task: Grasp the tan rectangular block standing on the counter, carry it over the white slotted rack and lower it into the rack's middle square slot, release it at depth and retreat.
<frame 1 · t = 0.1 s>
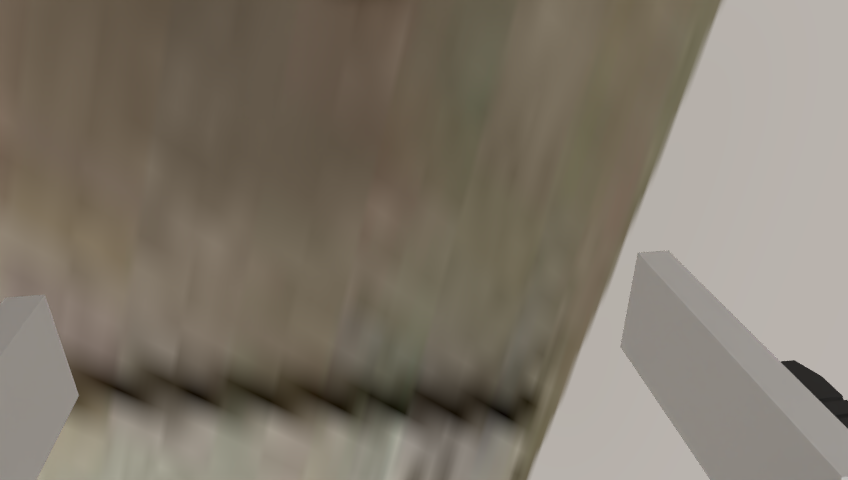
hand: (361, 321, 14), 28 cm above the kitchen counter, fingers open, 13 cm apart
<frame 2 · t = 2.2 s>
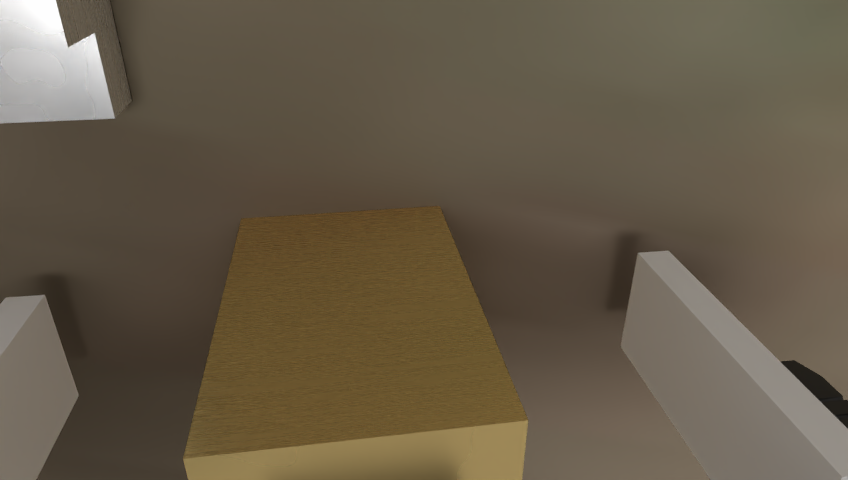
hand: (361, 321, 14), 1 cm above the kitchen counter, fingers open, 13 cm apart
tan rectangular block: (348, 294, 15), on the kitchen counter
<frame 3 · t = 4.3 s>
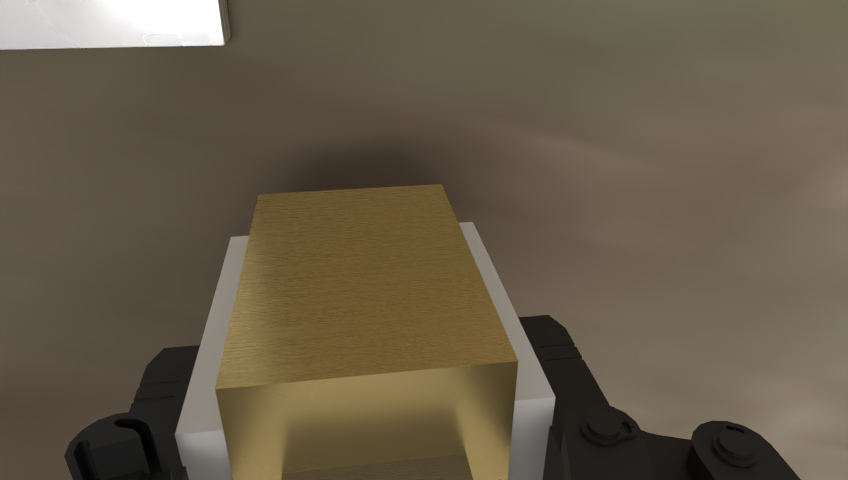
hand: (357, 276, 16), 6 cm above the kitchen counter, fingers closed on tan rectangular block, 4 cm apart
tan rectangular block: (356, 267, 16), point 5 cm above the kitchen counter, touching gripper
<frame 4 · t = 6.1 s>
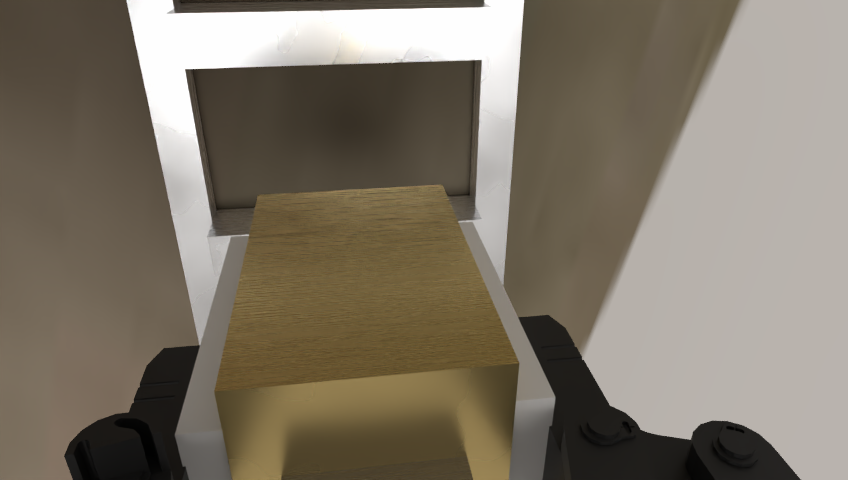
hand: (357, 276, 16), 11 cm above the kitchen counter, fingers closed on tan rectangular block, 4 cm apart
white slotted rack: (341, 130, 26), on the kitchen counter
tan rectangular block: (356, 268, 16), point 11 cm above the kitchen counter, touching gripper
when the fingers open (1 cm above the kitchen counter, at t = 7.8 s): tan rectangular block stays where it is, resting in white slotted rack.
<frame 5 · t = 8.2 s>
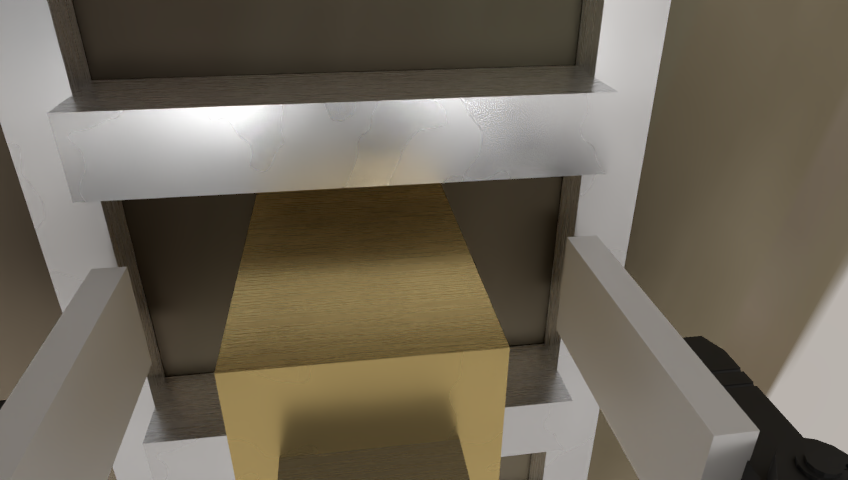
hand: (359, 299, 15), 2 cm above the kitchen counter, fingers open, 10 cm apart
white slotted rack: (356, 263, 17), on the kitchen counter
tan rectangular block: (354, 261, 17), resting in white slotted rack
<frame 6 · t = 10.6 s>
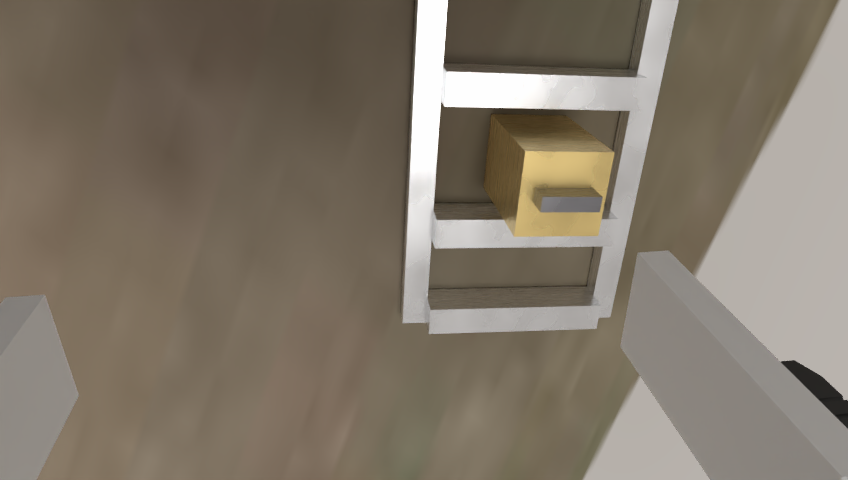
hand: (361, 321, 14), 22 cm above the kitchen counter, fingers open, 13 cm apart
white slotted rack: (524, 152, 37), on the kitchen counter
tan rectangular block: (523, 152, 37), resting in white slotted rack
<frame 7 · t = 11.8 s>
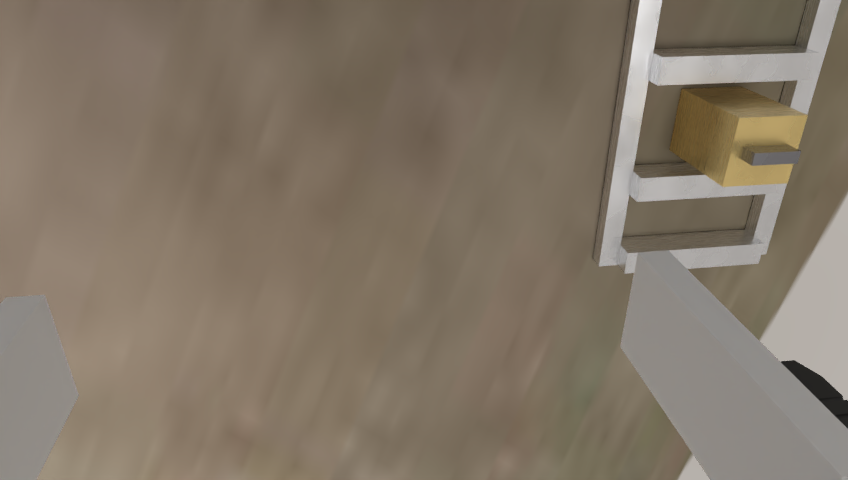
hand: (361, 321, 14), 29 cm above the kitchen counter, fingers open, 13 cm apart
white slotted rack: (705, 119, 45), on the kitchen counter
tan rectangular block: (704, 118, 45), resting in white slotted rack
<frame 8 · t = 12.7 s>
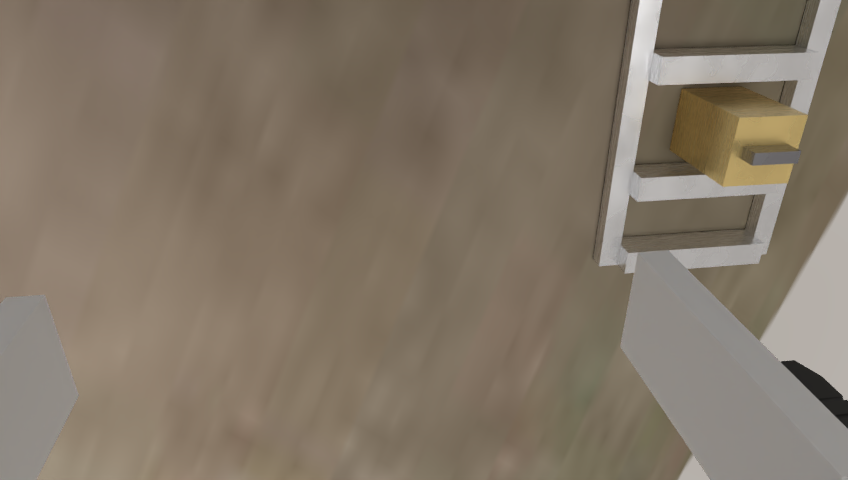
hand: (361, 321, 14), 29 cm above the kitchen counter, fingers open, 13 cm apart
white slotted rack: (705, 119, 45), on the kitchen counter
tan rectangular block: (704, 118, 45), resting in white slotted rack
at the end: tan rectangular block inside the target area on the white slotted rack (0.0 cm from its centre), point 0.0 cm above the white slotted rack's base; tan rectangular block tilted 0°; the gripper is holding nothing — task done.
